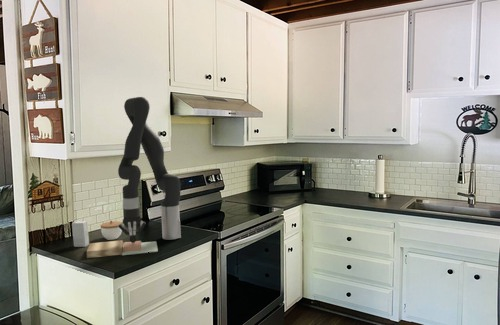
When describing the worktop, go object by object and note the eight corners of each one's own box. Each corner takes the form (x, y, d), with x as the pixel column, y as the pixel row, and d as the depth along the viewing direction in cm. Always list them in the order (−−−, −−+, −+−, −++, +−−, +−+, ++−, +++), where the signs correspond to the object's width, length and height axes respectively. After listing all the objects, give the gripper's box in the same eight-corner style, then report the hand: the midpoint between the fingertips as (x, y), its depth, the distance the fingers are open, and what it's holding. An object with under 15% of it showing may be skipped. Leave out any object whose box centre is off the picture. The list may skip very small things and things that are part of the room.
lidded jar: (124, 234, 214) (123, 217, 213) (121, 240, 204) (120, 222, 203) (103, 236, 213) (102, 219, 212) (99, 241, 202) (98, 223, 201)
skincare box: (89, 244, 198) (88, 220, 197) (85, 247, 193) (83, 223, 192) (77, 244, 198) (76, 220, 197) (73, 247, 194) (71, 223, 193)
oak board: (123, 246, 193) (122, 240, 193) (122, 254, 181) (121, 248, 181) (90, 249, 189) (89, 243, 189) (86, 258, 177) (86, 251, 177)
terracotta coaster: (141, 245, 193) (140, 240, 193) (141, 249, 186) (141, 245, 185) (124, 246, 191) (123, 242, 191) (123, 251, 183) (123, 247, 183)
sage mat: (156, 242, 199) (156, 241, 199) (157, 251, 184) (157, 250, 184) (123, 245, 195) (123, 244, 195) (121, 255, 180) (121, 254, 179)
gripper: (145, 204, 192) (147, 239, 194) (116, 206, 188) (118, 241, 190) (145, 207, 185) (147, 243, 186) (116, 209, 181) (118, 246, 183)
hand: (133, 242), depth 188 cm, fingers closed
